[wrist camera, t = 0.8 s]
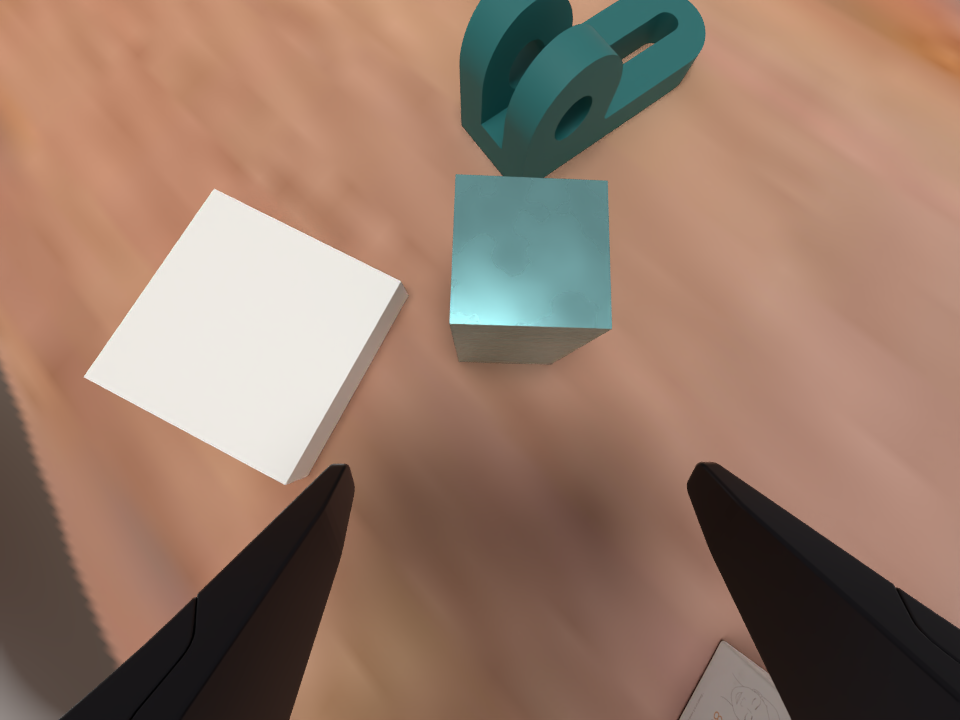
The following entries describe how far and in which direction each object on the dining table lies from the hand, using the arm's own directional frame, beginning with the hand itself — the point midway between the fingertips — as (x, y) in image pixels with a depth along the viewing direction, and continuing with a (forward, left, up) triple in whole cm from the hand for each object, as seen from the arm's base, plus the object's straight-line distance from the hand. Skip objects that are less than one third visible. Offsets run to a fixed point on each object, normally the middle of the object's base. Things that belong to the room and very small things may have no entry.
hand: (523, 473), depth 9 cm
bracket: (+25, +5, -13) cm, 29 cm away
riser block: (-1, +16, -14) cm, 21 cm away
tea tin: (+7, +3, -13) cm, 15 cm away
